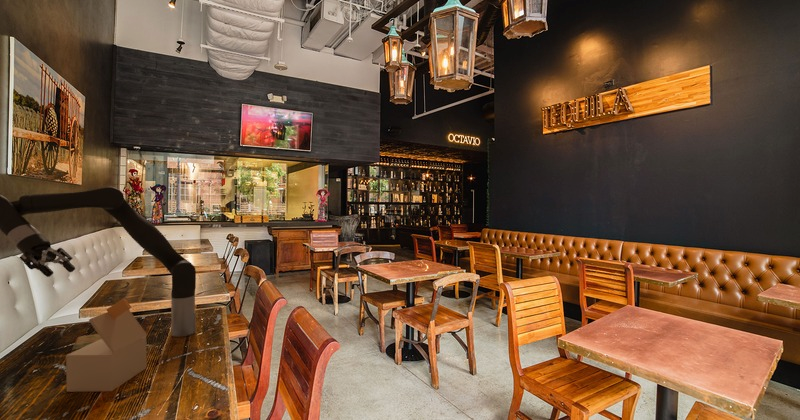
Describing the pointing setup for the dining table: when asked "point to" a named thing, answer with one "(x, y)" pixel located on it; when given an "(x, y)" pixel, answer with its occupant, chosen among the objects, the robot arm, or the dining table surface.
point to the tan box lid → (118, 326)
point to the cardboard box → (104, 366)
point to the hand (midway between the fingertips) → (62, 272)
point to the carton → (85, 341)
